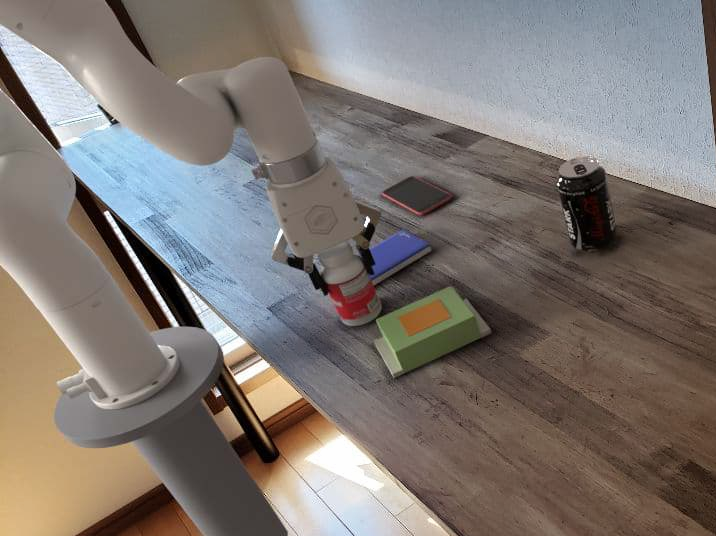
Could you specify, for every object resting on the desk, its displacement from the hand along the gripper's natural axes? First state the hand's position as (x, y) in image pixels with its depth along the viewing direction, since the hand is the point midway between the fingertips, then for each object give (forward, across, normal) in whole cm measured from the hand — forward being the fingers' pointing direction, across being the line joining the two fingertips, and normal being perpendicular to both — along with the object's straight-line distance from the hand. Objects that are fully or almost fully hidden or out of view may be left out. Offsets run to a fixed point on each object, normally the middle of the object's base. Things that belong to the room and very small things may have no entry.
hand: (347, 280), depth 116 cm
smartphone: (+6, +18, +28) cm, 34 cm away
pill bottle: (+6, 0, 0) cm, 6 cm away
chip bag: (+6, +6, -13) cm, 16 cm away
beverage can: (+6, +34, -8) cm, 35 cm away
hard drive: (+6, +7, +11) cm, 14 cm away
